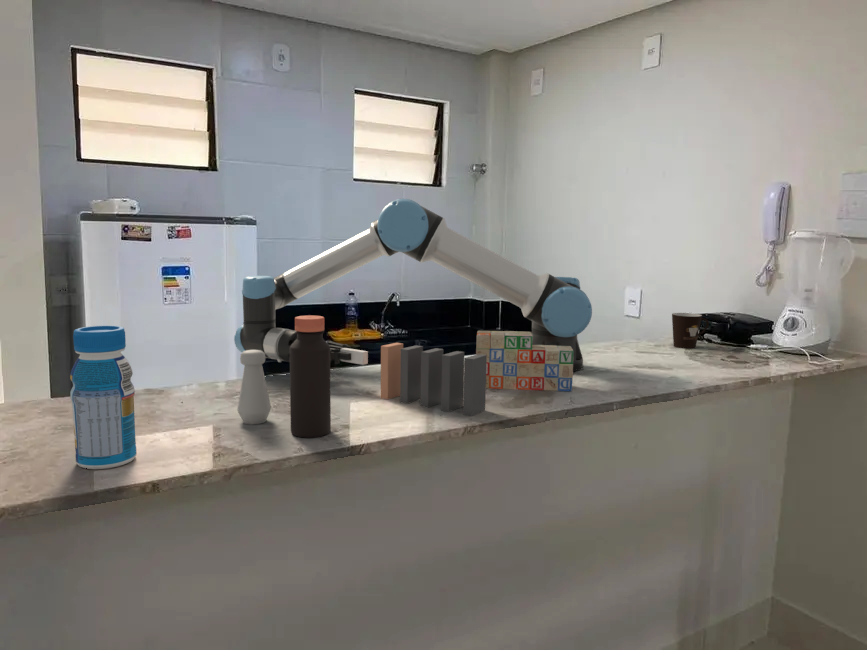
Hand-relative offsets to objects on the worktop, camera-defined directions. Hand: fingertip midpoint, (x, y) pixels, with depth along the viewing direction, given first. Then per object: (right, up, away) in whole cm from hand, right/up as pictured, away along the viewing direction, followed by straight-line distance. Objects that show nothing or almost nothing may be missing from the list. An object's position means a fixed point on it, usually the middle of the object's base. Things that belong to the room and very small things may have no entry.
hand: (365, 358), depth 143 cm
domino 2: (+14, -9, -9) cm, 19 cm away
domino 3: (+18, -9, -11) cm, 23 cm away
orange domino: (+6, -8, -3) cm, 10 cm away
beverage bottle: (-34, -13, -43) cm, 57 cm away
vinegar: (-7, -12, -28) cm, 31 cm away
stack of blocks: (+35, -7, +8) cm, 36 cm away
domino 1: (+10, -8, -6) cm, 14 cm away
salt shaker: (-18, -11, -22) cm, 30 cm away
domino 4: (+22, -10, -14) cm, 28 cm away
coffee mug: (+93, 0, +62) cm, 112 cm away
